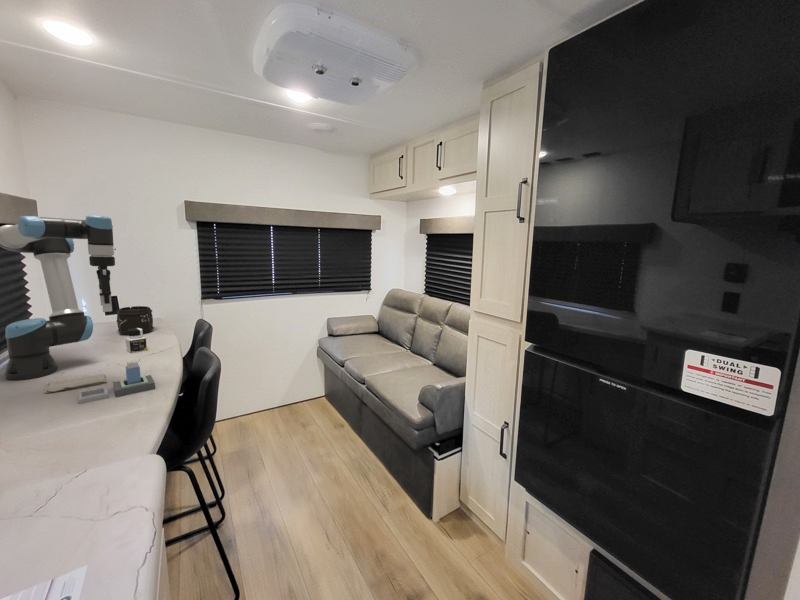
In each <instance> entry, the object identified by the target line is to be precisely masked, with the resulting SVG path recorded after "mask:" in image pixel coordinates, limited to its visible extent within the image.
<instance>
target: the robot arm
mask: <svg viewBox="0 0 800 600" xmlns="http://www.w3.org/2000/svg"><path fill="white" fill-rule="evenodd" d="M112 221H113V220H112V218H111V217H109V216H102V215H92V214H91V215H90V214H89V215H86V216H85V219H74V218H73V219H72V218H61V217H60V218H57V217H47V216H46V217H45V216H37V215H29V216H28V215H23V216H22V215H21V216H20V217H19V218H18V220H17V223H16V224H5V225H2V226H0V248H2V249H4V250H7V251H10V252H14V253H21V254H22V253H23V254H26V253H28V254H31V253H32V254H33V257H34V259H36V260H38V261H39V262H40V265H41V269H42V270H41V271H42V273H43V278H44V282H45V286H46V290H47V295H48V298H49V303H50V307H51V310H52V312H51V314H50V315H49V316H48V320H46V319H45V318H43V317H36V318H27V319H23V320H18V321H15V322H11V323H10V324H8V325H7V326H5V335H4V338H5V339H6V346H7V352H8V362H7V365H6V368H5V372H4V378H5V379H6V380H8V381H21V380H29V379H36V378H41V377H44V376H48V375H51V374H53V373H56V372H57V371H58V365H57V362H56V361H55V359H54V357H53V356H52V354H51V353H50V352H51V351H50V348H52V347H57V346H62V345H68V344H72V343H73V344H74V343H75V344H76V343H79V342H84V341H87V340H89V339H90V338H91V336H92V335H93V332H94V331H93V330H94V323H93V319H92V317H91V316H89V315H87V314H86V315H85V312H84V311H83V310H81V309H80V308H79V305H78V301H77V300H78V299H77V296H76V291H75V288H74V284H73V280H72V276H71V272H70V267H69V263H68V259H69V258H70V257H71V253H73V252H74V250H75V247H74V246H75V243H74V240H87V248H88V250H87V251H88V255H89V257H88V258H89V265H90V266H91V267H97V269H96V275H97V280H98V287H99V288H98V289H99V302H100V306H102V312H103V313H106V312H109V313H110V312H113V304H112V291H111V283H110V281H111V270H109V269H108V267H115V265H116V258H115V257H114V255H115V251H116V250H117V248H116V247H114V246H115V245H114V232H113V231H114V230H113V228H114V226H113V222H112ZM73 239H74V240H73Z"/></svg>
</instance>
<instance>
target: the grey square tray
mask: <svg viewBox="0 0 800 600" xmlns="http://www.w3.org/2000/svg"><path fill="white" fill-rule="evenodd" d="M108 398H110V397H109V391H108V387H107V386H103V387H98V388H93V389H87V390H83V391H78V392H77V400H78V405H79V404H80V405H81V404H85V403H90V402H94V401H99V400H103V399H104V400H105V399H108Z"/></svg>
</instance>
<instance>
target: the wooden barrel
mask: <svg viewBox="0 0 800 600" xmlns="http://www.w3.org/2000/svg"><path fill="white" fill-rule="evenodd" d="M152 312H153V309H151V307H149V306H144V305H142V306H141V305H140V306H139V305H135V306H124V307H121V308H120V307H119V308H118V309H117V311H116V314H117V315H116V324H117V328H118V329H117V332H118V333H119V334H120V335H121V336H125V337H126V336H128V330H130V329H133V328H141V329H142V332H143V335H145V334H150V333H151V332H152V331H153V329H154V321H153V320H154V319H153V313H152Z"/></svg>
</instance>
